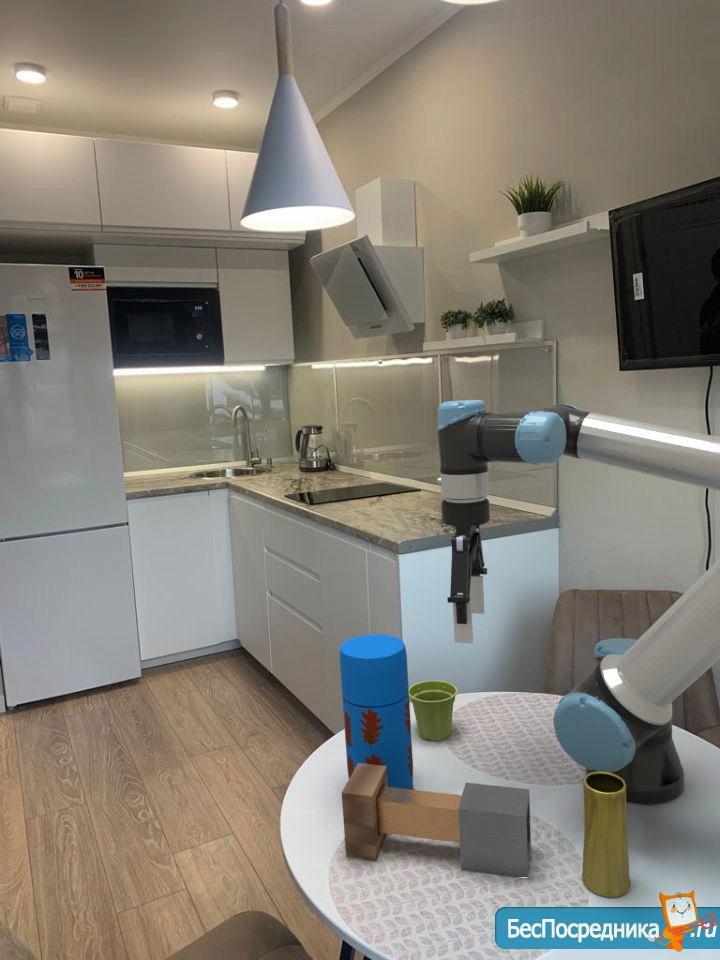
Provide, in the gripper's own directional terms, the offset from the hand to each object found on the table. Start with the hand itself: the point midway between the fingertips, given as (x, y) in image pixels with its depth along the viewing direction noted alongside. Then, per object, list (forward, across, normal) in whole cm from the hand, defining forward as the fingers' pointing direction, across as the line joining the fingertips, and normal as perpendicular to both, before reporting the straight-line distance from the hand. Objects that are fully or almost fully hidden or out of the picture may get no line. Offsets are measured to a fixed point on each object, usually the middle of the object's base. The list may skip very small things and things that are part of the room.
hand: (470, 626), depth 118 cm
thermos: (+27, +6, -15) cm, 31 cm away
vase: (+27, +21, +20) cm, 40 cm away
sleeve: (+27, +20, +6) cm, 34 cm away
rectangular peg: (+24, +19, -5) cm, 31 cm away
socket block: (+27, +20, -13) cm, 36 cm away
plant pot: (+27, -14, -10) cm, 32 cm away
